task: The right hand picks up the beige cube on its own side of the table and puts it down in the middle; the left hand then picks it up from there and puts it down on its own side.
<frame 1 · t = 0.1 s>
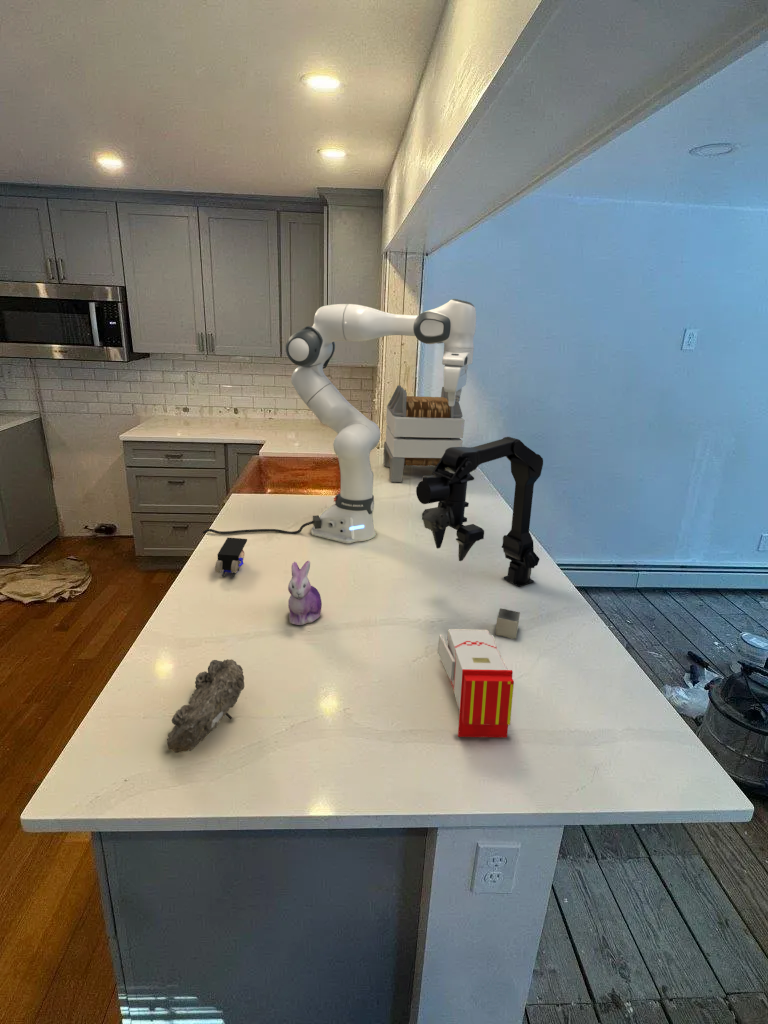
left hand: (454, 403, 174), 48 cm above the counter, tool pointing down, fingers open, 8 cm apart
right hand: (449, 554, 149), 15 cm above the counter, tool pointing down, fingers open, 9 cm apart
figurine character: (232, 569, 168), on the counter
figurine: (304, 617, 144), on the counter
fossil: (212, 717, 108), on the counter
beige cube: (506, 632, 141), on the counter
toy: (469, 691, 119), on the counter
transformer: (419, 473, 275), on the counter
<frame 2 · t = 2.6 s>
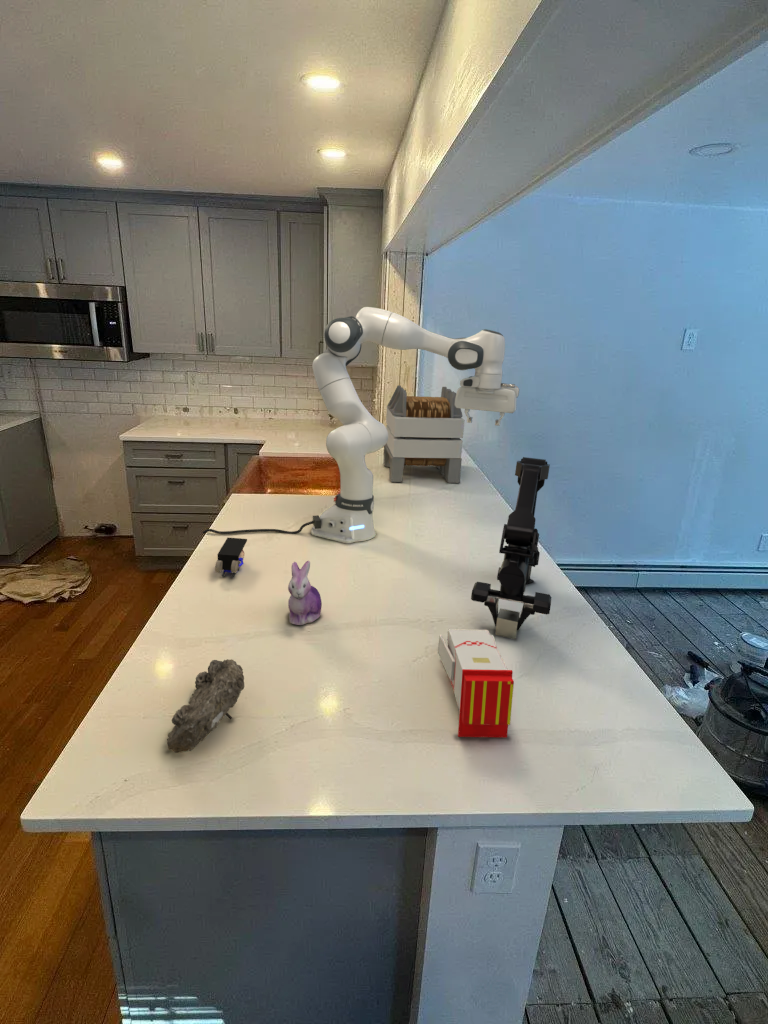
left hand: (483, 423, 190), 40 cm above the counter, tool pointing down, fingers open, 8 cm apart
right hand: (507, 627, 141), 1 cm above the counter, tool pointing down, fingers closed on beige cube, 5 cm apart
beige cube: (506, 632, 141), on the counter, touching right hand
everything else where it was.
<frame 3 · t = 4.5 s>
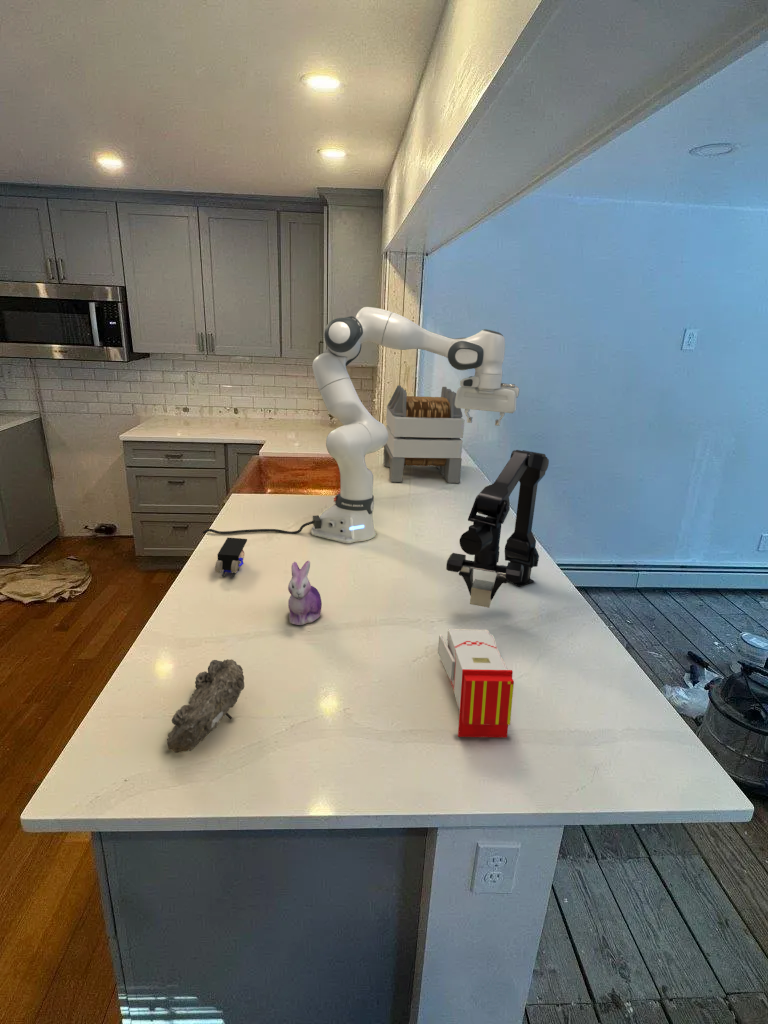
left hand: (483, 423, 190), 40 cm above the counter, tool pointing down, fingers open, 8 cm apart
right hand: (481, 597, 146), 6 cm above the counter, tool pointing down, fingers closed on beige cube, 5 cm apart
beige cube: (481, 601, 146), point 5 cm above the counter, touching right hand
everything else where it was.
when the right hand's fingers open (2 cm above the counter, at t = 6.4 s): beige cube stays where it is, on the counter.
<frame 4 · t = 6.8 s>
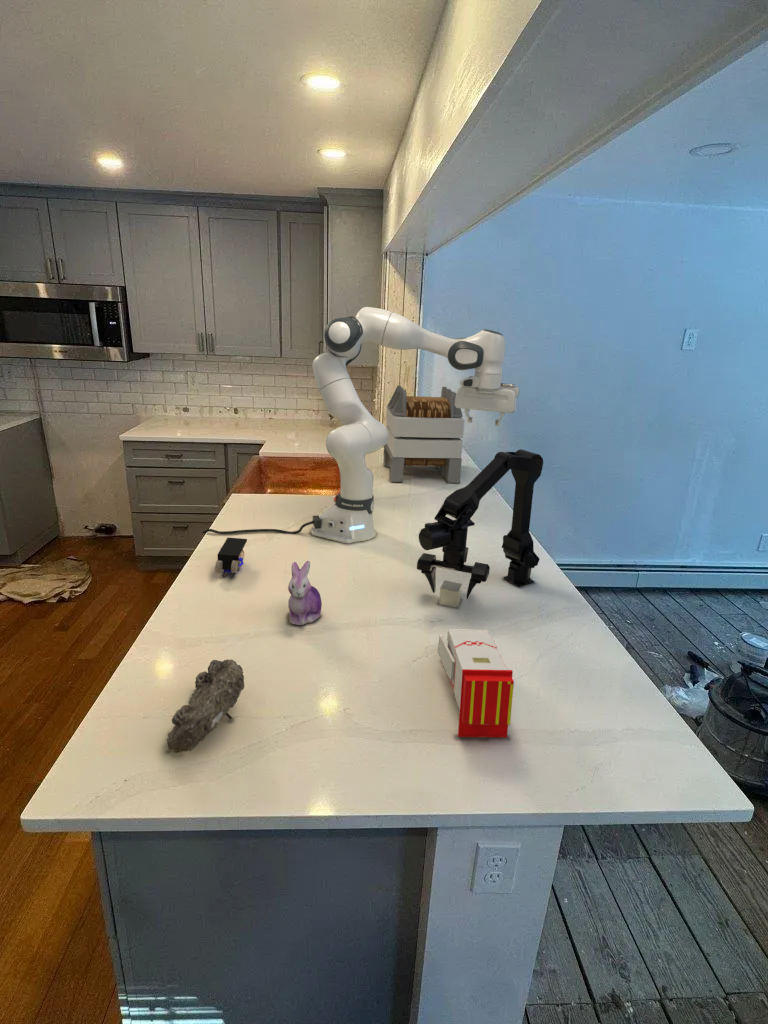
left hand: (483, 423, 190), 40 cm above the counter, tool pointing down, fingers open, 8 cm apart
right hand: (450, 595, 154), 2 cm above the counter, tool pointing down, fingers open, 9 cm apart
beige cube: (449, 601, 155), on the counter
everything else where it was.
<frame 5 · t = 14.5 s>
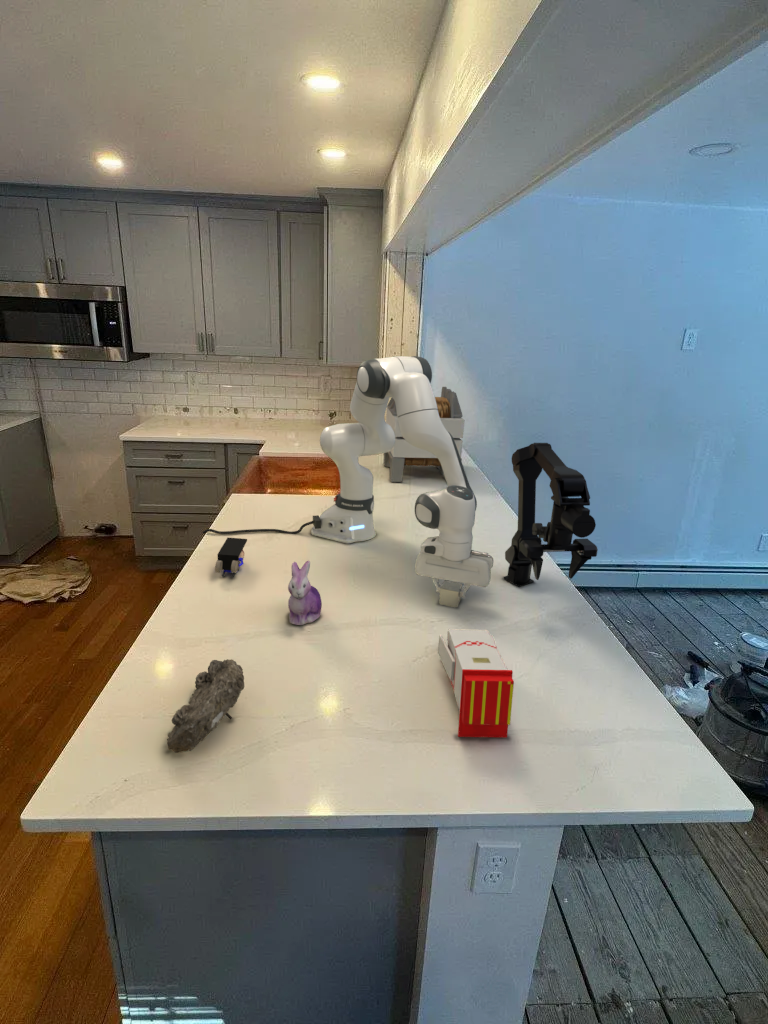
left hand: (450, 594, 154), 2 cm above the counter, tool pointing down, fingers closed on beige cube, 5 cm apart
right hand: (553, 578, 146), 11 cm above the counter, tool pointing down, fingers open, 9 cm apart
beige cube: (449, 601, 155), on the counter, touching left hand
everything else where it was.
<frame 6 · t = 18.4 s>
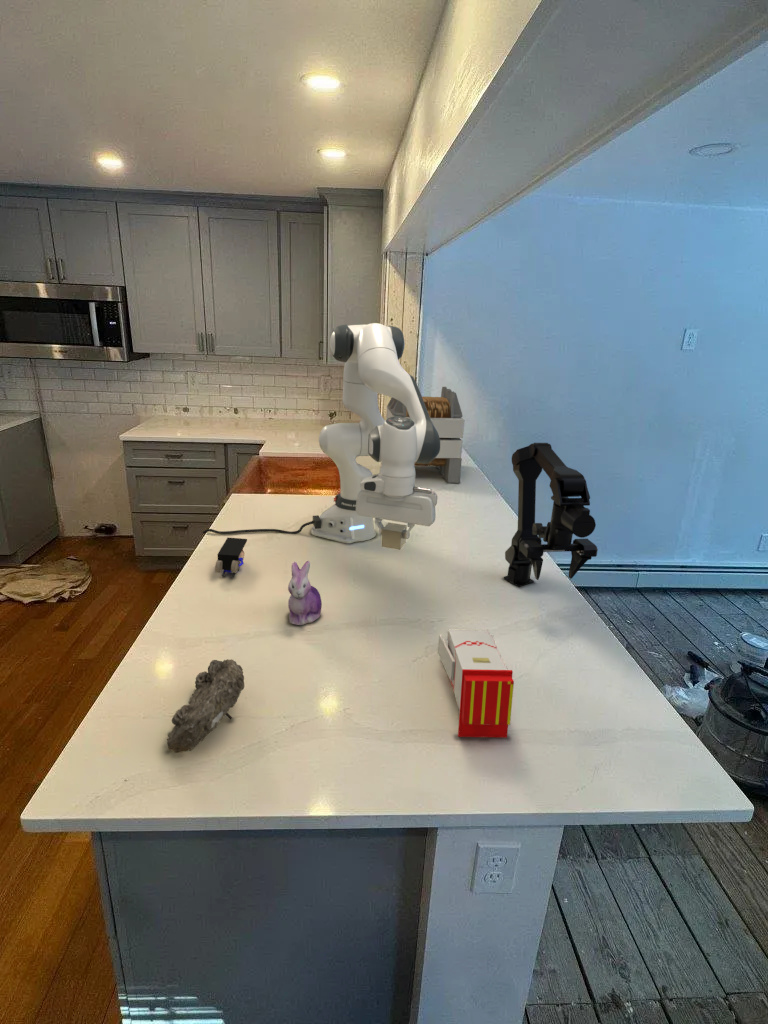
left hand: (394, 536, 144), 20 cm above the counter, tool pointing down, fingers closed on beige cube, 5 cm apart
right hand: (553, 578, 146), 11 cm above the counter, tool pointing down, fingers open, 9 cm apart
beige cube: (393, 544, 145), point 18 cm above the counter, touching left hand
everything else where it was.
when the left hand's fingers open (3 cm above the counter, at t = 22.4 s): beige cube stays where it is, on the counter.
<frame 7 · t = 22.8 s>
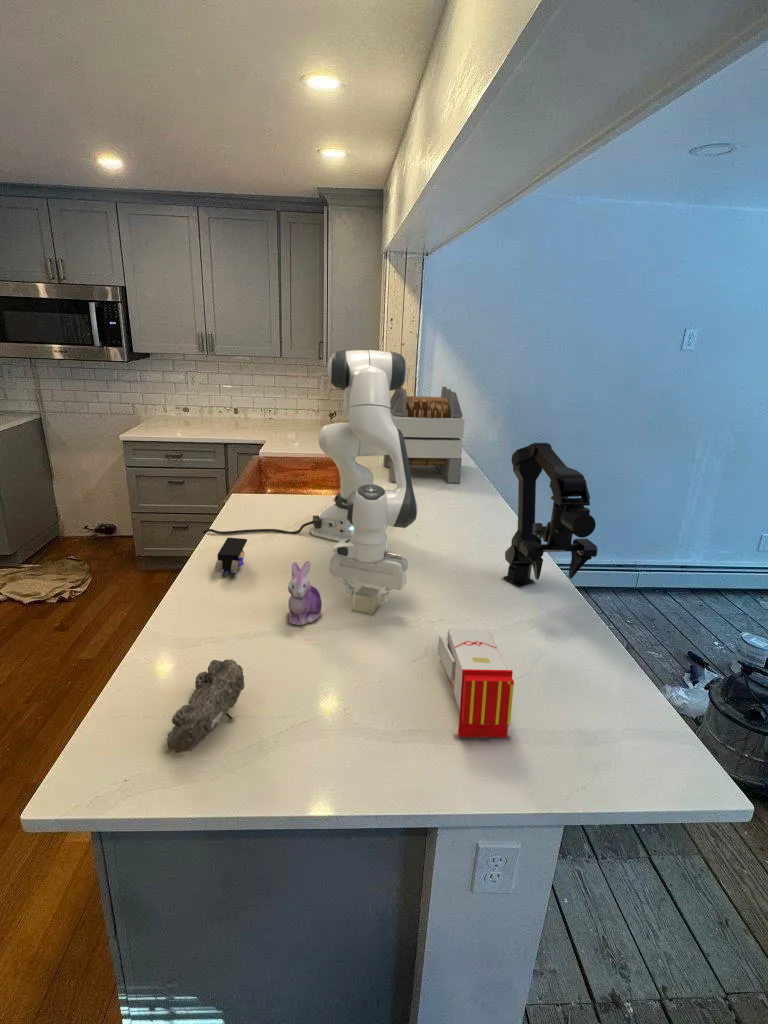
left hand: (367, 597, 149), 3 cm above the counter, tool pointing down, fingers open, 8 cm apart
right hand: (553, 578, 146), 11 cm above the counter, tool pointing down, fingers open, 9 cm apart
beige cube: (366, 608, 150), on the counter
everything else where it was.
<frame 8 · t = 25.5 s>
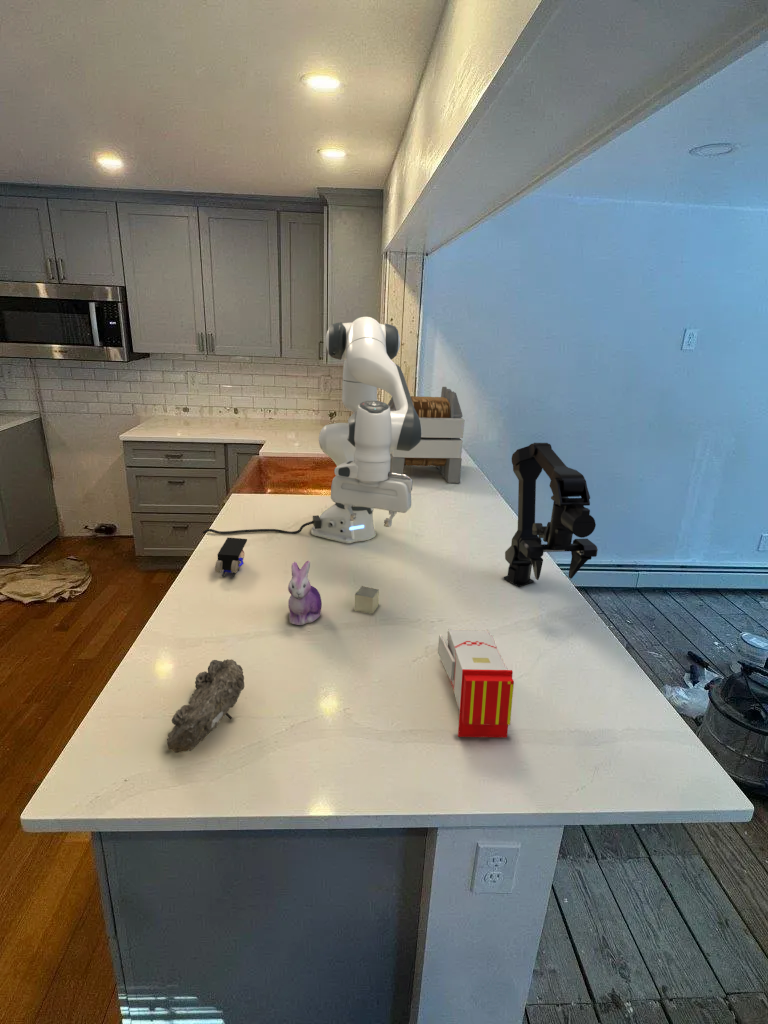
left hand: (369, 523, 142), 24 cm above the counter, tool pointing down, fingers open, 8 cm apart
right hand: (553, 578, 146), 11 cm above the counter, tool pointing down, fingers open, 9 cm apart
nothing on the counter moved.
at the end: beige cube inside the target area (0.0 cm from its centre), on the counter; beige cube tilted 0°; the two hands never held the beige cube at the same time; the left hand is holding nothing; the right hand is holding nothing; beige cube at rest at the end (0.0 cm/s) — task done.
